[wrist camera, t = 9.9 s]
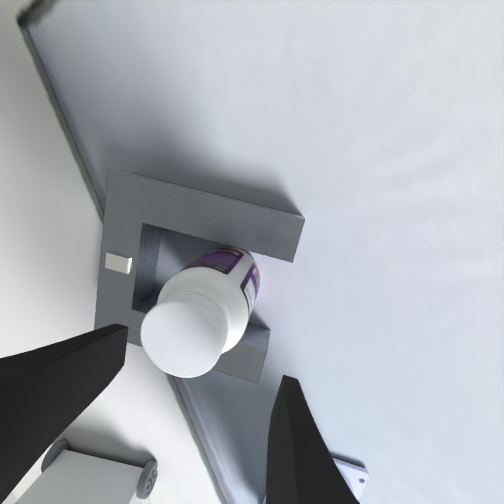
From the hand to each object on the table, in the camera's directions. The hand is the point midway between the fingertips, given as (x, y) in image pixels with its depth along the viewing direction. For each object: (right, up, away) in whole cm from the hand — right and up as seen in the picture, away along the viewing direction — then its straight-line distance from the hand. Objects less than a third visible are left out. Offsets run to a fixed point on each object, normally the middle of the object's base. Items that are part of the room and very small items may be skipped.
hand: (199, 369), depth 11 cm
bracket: (-2, +4, +10) cm, 11 cm away
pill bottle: (0, +3, +10) cm, 11 cm away
